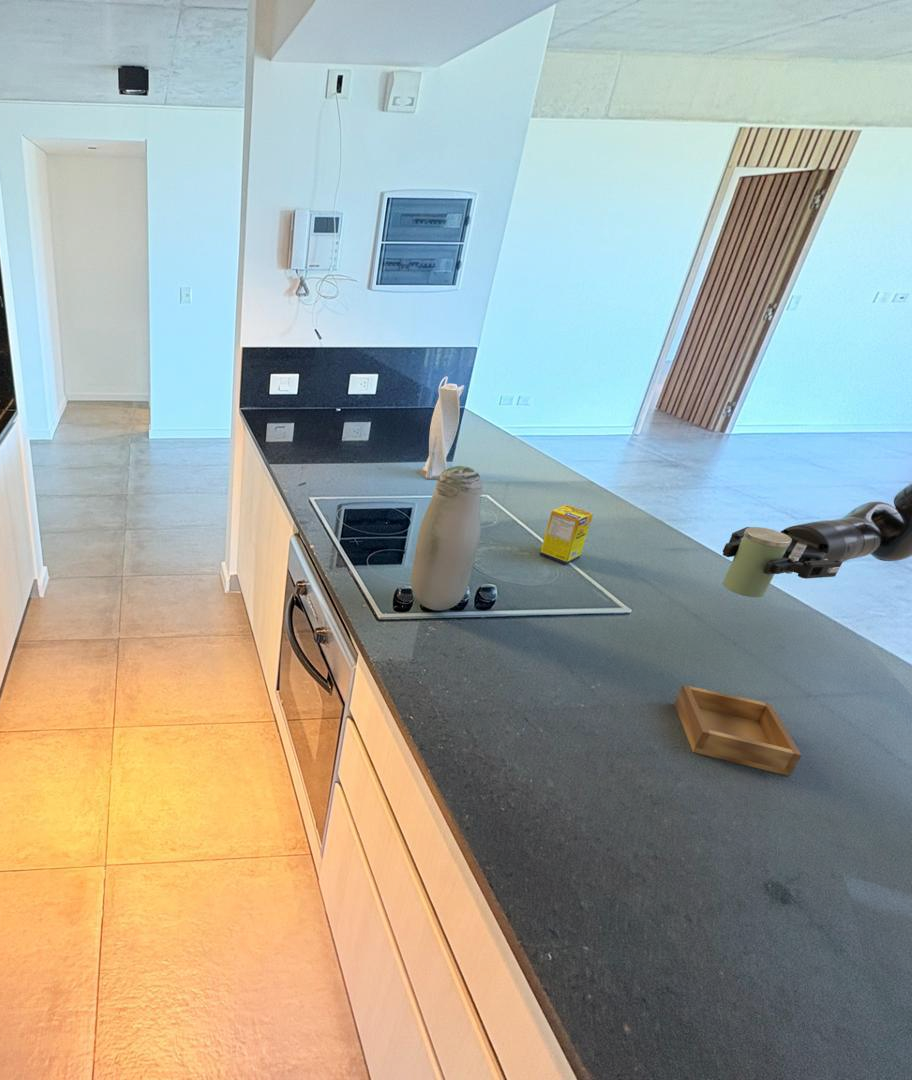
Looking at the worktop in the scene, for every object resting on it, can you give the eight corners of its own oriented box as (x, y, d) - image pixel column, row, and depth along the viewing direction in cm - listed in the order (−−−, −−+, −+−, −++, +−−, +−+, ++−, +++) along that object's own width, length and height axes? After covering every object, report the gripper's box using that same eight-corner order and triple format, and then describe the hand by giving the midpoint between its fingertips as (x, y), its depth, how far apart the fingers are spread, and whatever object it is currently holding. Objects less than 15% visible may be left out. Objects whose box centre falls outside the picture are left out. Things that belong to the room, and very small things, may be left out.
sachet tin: (757, 584, 103) (783, 530, 98) (770, 600, 98) (798, 545, 93) (716, 577, 105) (740, 524, 100) (728, 593, 100) (753, 538, 95)
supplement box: (579, 558, 135) (594, 513, 130) (565, 565, 132) (580, 519, 127) (552, 548, 140) (566, 503, 135) (538, 555, 137) (551, 510, 132)
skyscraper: (414, 469, 186) (431, 376, 173) (440, 468, 186) (458, 375, 174) (427, 479, 178) (445, 382, 166) (453, 478, 179) (473, 381, 166)
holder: (760, 723, 90) (771, 703, 88) (789, 776, 81) (802, 755, 79) (673, 703, 94) (682, 684, 92) (692, 752, 85) (702, 731, 83)
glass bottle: (415, 586, 125) (440, 454, 112) (468, 602, 119) (501, 465, 107) (399, 607, 117) (424, 470, 105) (454, 625, 112) (488, 482, 100)
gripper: (860, 584, 98) (786, 602, 93) (762, 545, 110) (692, 559, 106) (884, 542, 95) (808, 559, 90) (779, 507, 107) (709, 519, 102)
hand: (746, 559), depth 98 cm, fingers closed on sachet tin, 5 cm apart
